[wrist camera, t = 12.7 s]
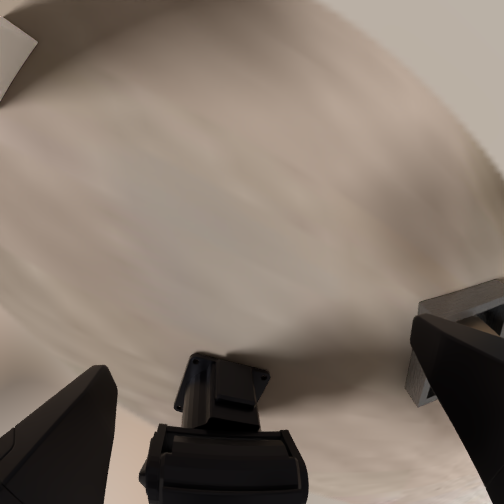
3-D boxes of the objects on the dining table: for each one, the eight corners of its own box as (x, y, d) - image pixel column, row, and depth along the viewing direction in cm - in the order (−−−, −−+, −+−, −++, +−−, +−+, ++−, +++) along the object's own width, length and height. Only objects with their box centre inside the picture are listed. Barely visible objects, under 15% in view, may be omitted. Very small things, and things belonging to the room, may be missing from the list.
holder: (404, 388, 27) (417, 407, 24) (419, 302, 24) (438, 319, 21) (476, 359, 28) (491, 374, 25) (496, 279, 24) (515, 291, 21)
